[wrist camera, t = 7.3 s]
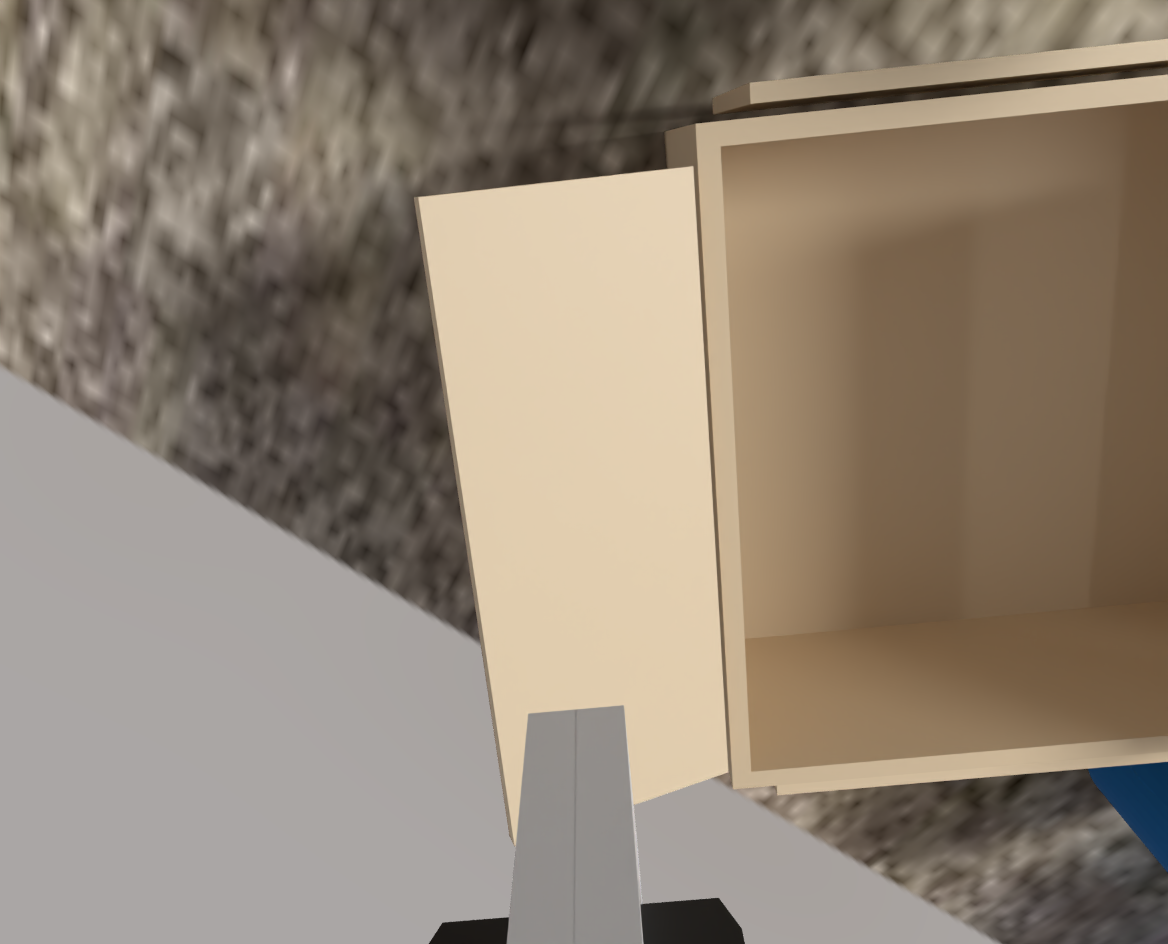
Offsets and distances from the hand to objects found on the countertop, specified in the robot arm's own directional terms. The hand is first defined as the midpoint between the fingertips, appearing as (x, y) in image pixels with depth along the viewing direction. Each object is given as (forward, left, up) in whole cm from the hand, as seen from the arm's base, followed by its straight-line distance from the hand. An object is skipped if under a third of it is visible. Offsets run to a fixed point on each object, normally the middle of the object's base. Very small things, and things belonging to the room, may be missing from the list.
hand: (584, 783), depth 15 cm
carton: (0, +15, -22) cm, 26 cm away
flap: (0, +4, -13) cm, 13 cm away
